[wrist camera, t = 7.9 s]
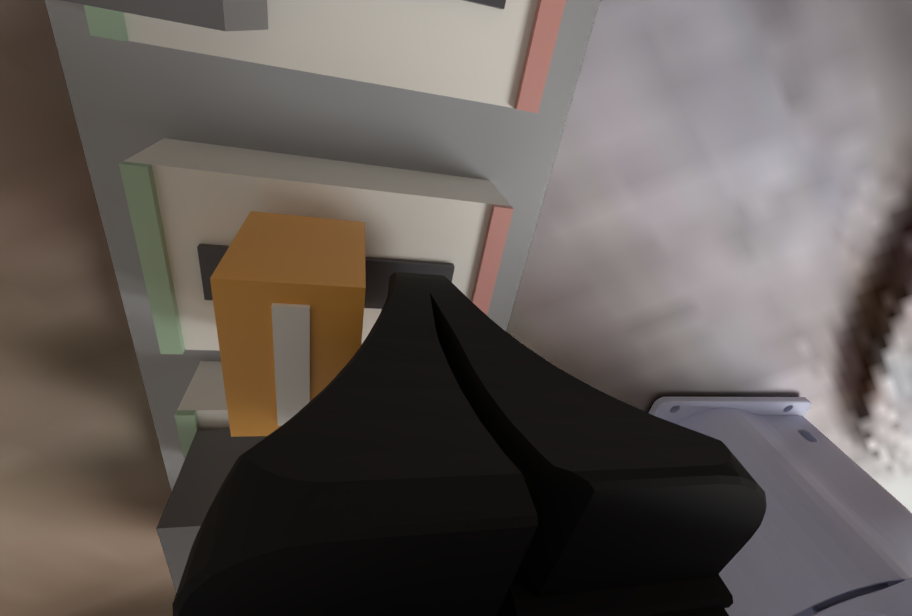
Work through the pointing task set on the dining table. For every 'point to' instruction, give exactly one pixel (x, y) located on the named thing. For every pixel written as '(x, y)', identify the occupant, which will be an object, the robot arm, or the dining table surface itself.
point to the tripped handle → (286, 314)
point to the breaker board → (304, 123)
